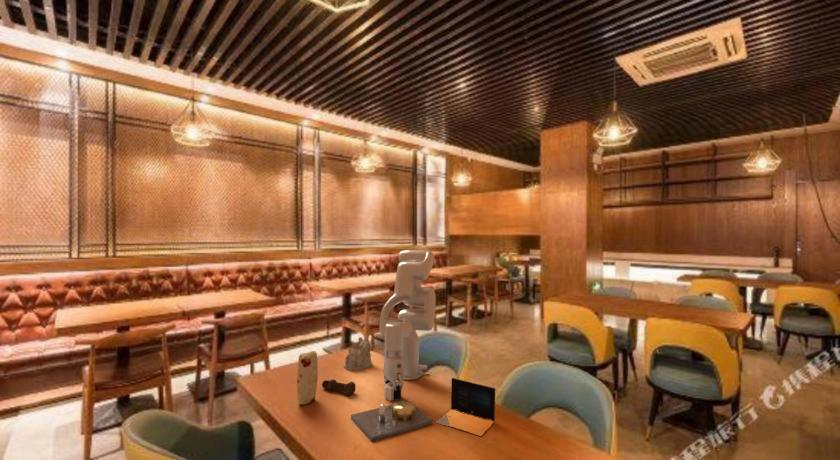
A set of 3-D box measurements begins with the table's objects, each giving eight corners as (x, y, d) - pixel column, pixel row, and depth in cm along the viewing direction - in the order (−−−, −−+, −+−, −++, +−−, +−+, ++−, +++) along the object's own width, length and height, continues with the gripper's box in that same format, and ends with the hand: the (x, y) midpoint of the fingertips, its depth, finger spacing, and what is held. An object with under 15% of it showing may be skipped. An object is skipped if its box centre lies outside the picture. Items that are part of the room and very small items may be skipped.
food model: (305, 408, 152) (306, 356, 152) (291, 405, 155) (292, 354, 155) (321, 398, 162) (322, 349, 161) (308, 395, 164) (308, 347, 164)
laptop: (435, 424, 143) (436, 388, 143) (451, 410, 154) (451, 377, 154) (481, 438, 134) (482, 400, 134) (495, 423, 144) (495, 388, 144)
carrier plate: (407, 404, 157) (408, 387, 157) (432, 424, 142) (432, 404, 142) (351, 418, 145) (351, 399, 145) (371, 441, 130) (372, 420, 130)
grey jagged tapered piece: (360, 356, 215) (360, 329, 214) (377, 366, 202) (376, 337, 201) (334, 364, 205) (334, 336, 204) (350, 375, 192) (349, 344, 191)
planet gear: (396, 392, 169) (396, 380, 169) (404, 398, 163) (404, 386, 163) (381, 395, 165) (381, 383, 165) (388, 402, 159) (389, 390, 159)
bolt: (325, 391, 173) (353, 397, 166) (318, 389, 169) (347, 395, 162) (329, 378, 176) (357, 383, 169) (322, 375, 172) (351, 380, 165)
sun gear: (401, 406, 152) (401, 398, 152) (420, 413, 147) (420, 405, 147) (386, 415, 145) (386, 407, 145) (405, 422, 140) (405, 414, 140)
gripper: (411, 357, 159) (411, 401, 159) (391, 346, 173) (391, 386, 173) (395, 360, 155) (394, 405, 155) (376, 348, 169) (375, 390, 169)
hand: (392, 395), depth 164 cm, fingers closed on planet gear, 7 cm apart
